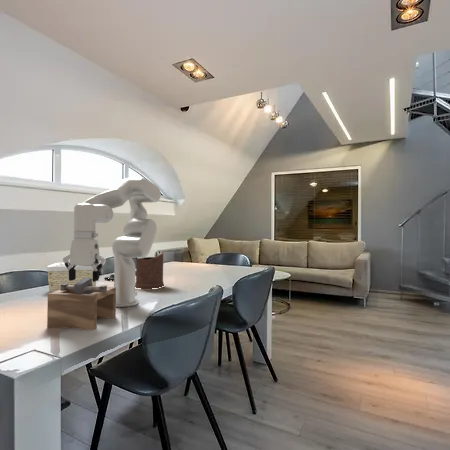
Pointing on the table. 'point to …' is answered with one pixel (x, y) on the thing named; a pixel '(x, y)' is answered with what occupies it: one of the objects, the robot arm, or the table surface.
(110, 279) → the camera
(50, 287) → the storage basket
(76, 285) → the grey piece
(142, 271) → the brown woven bin
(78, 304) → the stand
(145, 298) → the table surface
